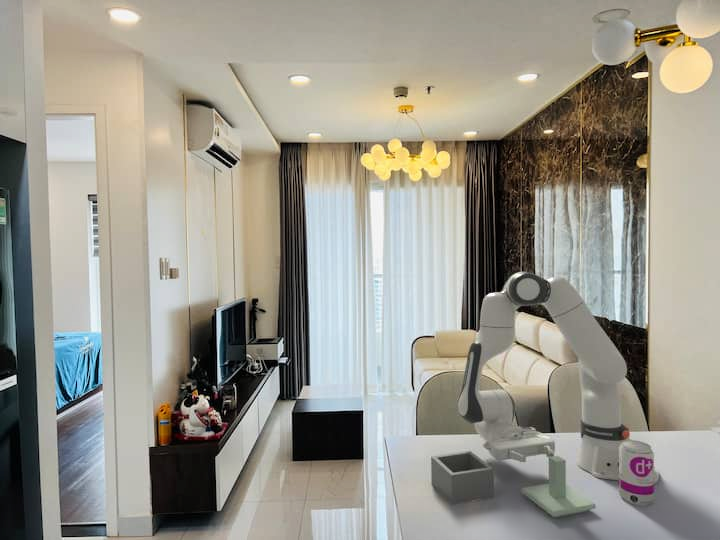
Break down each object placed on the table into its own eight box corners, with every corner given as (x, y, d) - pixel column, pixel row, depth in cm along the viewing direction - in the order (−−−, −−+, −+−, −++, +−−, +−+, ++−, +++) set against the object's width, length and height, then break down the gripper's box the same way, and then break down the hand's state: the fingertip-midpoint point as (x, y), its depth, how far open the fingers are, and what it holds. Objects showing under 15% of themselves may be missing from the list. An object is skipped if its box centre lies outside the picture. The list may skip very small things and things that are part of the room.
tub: (470, 477, 143) (470, 451, 143) (493, 497, 131) (493, 468, 131) (431, 483, 140) (431, 456, 140) (451, 504, 127) (451, 475, 127)
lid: (561, 490, 134) (560, 446, 134) (595, 513, 122) (595, 465, 122) (521, 497, 131) (521, 452, 131) (553, 522, 118) (552, 472, 118)
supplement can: (659, 508, 124) (659, 451, 124) (625, 505, 126) (624, 449, 125) (647, 493, 132) (646, 440, 132) (615, 490, 133) (614, 438, 133)
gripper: (480, 433, 144) (506, 450, 131) (537, 426, 150) (567, 442, 137) (480, 454, 144) (506, 473, 131) (537, 446, 150) (567, 463, 137)
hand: (538, 457), depth 134 cm, fingers open, 8 cm apart
